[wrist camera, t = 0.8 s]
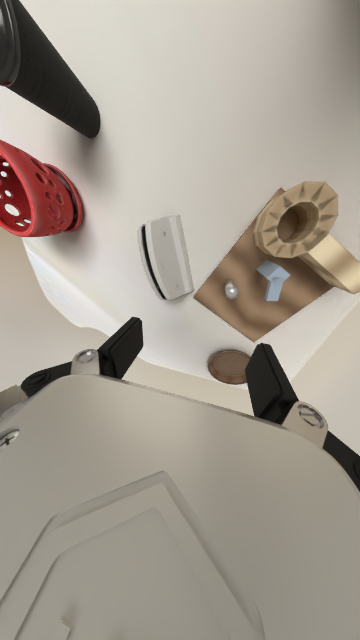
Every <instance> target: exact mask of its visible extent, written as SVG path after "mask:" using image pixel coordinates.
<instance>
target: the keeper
mask: <svg viewBox="0 0 360 640" xmlns="http://www.w3.org/2000/svg"><path fill="white" fill-rule="evenodd" d="M256 270H257V271H258V272H259V273H261V274H262V275H263V276H264V277H266V278H267V279H268V280H269V282H268V286H267V291H266V295H265V300H266V301H278V299H279V295H280V292H281V288H282V285H283V281H284V280H286V279H287V278H288V277H289V276H290V274H289V273H288V272H286V271H285V270H284V269H283V268H282V267H280V266H279V265H277V264H274V263H272V262H270V261H268V260H265V261H264V262H263V263H262V264H261V265H260V266H259V267H258V268H257V269H256Z"/></svg>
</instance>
